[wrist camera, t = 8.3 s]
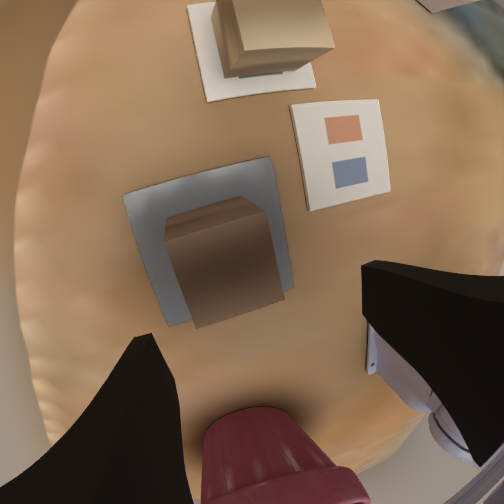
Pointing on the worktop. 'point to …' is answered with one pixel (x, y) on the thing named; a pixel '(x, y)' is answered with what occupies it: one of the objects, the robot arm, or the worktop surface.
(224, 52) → the oak block
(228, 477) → the plant pot
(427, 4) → the milk carton
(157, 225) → the slate coaster
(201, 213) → the walnut block
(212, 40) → the code tile
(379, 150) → the code tile
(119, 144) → the worktop surface
